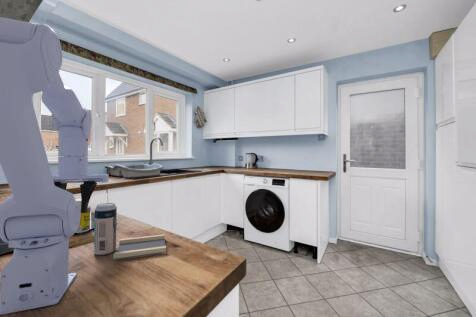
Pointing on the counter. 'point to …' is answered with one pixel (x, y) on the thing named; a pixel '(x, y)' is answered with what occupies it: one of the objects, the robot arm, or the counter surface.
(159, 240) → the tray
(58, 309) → the counter surface
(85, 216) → the supplement bottle
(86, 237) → the shard
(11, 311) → the robot arm
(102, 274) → the counter surface
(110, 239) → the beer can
